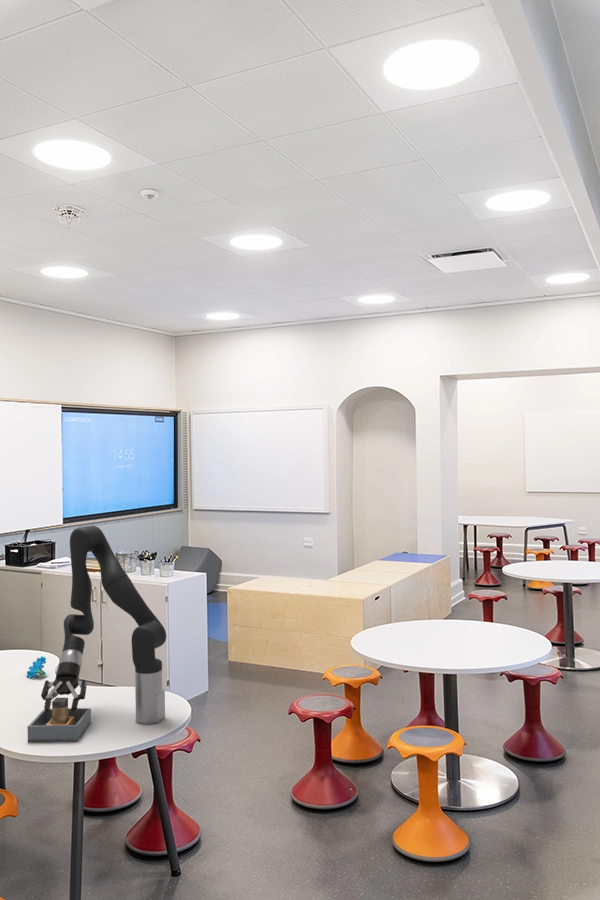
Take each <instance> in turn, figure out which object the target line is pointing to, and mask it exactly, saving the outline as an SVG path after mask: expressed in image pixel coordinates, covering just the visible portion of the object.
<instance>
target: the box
mask: <svg viewBox="0 0 600 900" xmlns="http://www.w3.org/2000/svg"><path fill="white" fill-rule="evenodd" d="M91 724H92V708H91V707H88V708H87V707H86V708H85V707H83V708H78V707H77V709H76V710H75V711H74V712H72V710H71V707H70V708H69V707H68V722H67V723H66V724H52V708H50V710H49V712H46V710H45V709H44V708H43V710H42V711H40V713H39V714H38V715H37V716H36V717H35V718H34V719H33V720H32V721H31V722H30V723H29V724H28V725H27V743H48V742H49V743H53V742H54V743H55V742H56V743H58V742H60V743H61V742H62V743H63V742H68V743H69V742H70V743H71V742H79V740H80V738H81V737H82V736H83V734H85V732H86V731H87V729H88V728H89V726H90V725H91Z"/></svg>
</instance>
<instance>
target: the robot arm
mask: <svg viewBox="0 0 600 900" xmlns="http://www.w3.org/2000/svg"><path fill="white" fill-rule="evenodd" d="M69 552H70V563H71V581H72V582H71V594H70V608H72V609H74V610H76V611H79V612H81V613H82V614H77V613H75V614H74V613H72V614H68V615H66V617H65V618H64V620H63V631H64V643H63V648H62V651H61V655H60V659H59V662H58V666H57V671H56V675H55V679H54V681H49V680H48V679H46V680H45V681H44V685H43V688H42V691H41V694H40V697H41V698H42V699H41V700H43V701H44V702H45V703H44V707H43V710H44V709H45V710H46V712H49V710H50V709H51V707H52V701H53V700H54V699H55V698H57V697H58V695H60V696H63V695H67V696H68V695H72V697H73V698H72V703H71V707H70V708H71V710H72V712H74V711H75V710H76V709H77V708H78V705H79V702H80V700H85V698H86V695H87V694H86V693H87V685H88V683H87V680H86V679H82V680H81V681H79V678H80V673H81V669H82V668H81V667H82V663H83V655H84V649H85V645H86V644H85V643H86V642H85V640H84V639H83V638H82V637H80V636H79V635H81V636H88V635H91V633H92V632H93V630H94V628H95V625H94V624H95V621H94V617H93V613H92V604H91V603H92V592H93V585H92V580H91V577H90V574H89V572H88V568H87V567H88V566H87V557H88V553H90V552H91V554H92V555H93V556H94V558H95V559H96V561H97V563H98V565H99V568H100V569H99V570H100V579H101V580H100V581H101V586H102V587H103V589H104V591H105V593H106V594H107V595H108V597H109V599H110V600H111V602H112V603H113V604H115V606H116V607H118V608H119V609H120V610H122V611H124V612H125V613H127V614H128V615H129V616H130V617H132V618H133V620H134V621H135V623H136V624H137V627H135V628H134V630H133V631H132V633H131V656H132V663H133V666H134V671H135V672H134V675H135V677H134V684H135V686H134V688H135V690H134V693H135V698H134V699H135V721H136V722H137V724H138V723H139V724H144V725H149V724H150V725H151V724H159V723H160V722H161V721H162V720H164V718H166V691H165V690H164V689H163V661H162V660H161V659H160V658H156V649H158V648H160V647H162V646H163V645H164V644H166V643H165V642H166V640H167V633H166V629H165V626H164V625H163V624H162V623H161V621H160V620H159V618H157V616H156V615H155V614H154V612H153V611H152V610H151V609H150V608H149V606H148V605H147V603H146V602H145V600H144V599H143V597H142V596H141V594H140V593H139V591H138V590H137V587H135V585H134V583H133V582H132V580H131V579H130V577H129V576H128V575H129V574H127V572H126V571H125V570H124V568H123V567H122V565H121V563H120V562H119V560H118V558H117V556H116V555H115V553H114V551H113V550H112V548H111V545H110V544H109V542H108V539H107V538H106V535H105V534H104V532H103V531H102V529H100V527H98V526H96V525H88V526H86V525H85V526H81V527H80V526H79V527H77V528H75V529H73V531H72V532H71V533H70V536H69ZM52 687H53V688H52ZM78 687H79V688H80V692H79V694H78V693H77V692H76V689H77V688H78ZM51 688H52V689H51ZM50 689H51V690H50ZM49 691H50V692H49Z"/></svg>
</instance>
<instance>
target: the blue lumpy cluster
mask: <svg viewBox="0 0 600 900" xmlns="http://www.w3.org/2000/svg"><path fill="white" fill-rule="evenodd" d="M31 664H32V665H30V666H29V667H28V669H29V670H27V671H26V677H27V678H29V679H32V678H34V677H36V676H37V675H39V676H42V677H43V678H44V679H45V678H47V677H48V676H47V675H46V672H45V670H43V669H44V668H45V664H47V658H46V657H45V656H40V658H39V657H38V658H36V661H34V660H33V661H32V662H31Z"/></svg>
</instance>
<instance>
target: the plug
mask: <svg viewBox="0 0 600 900" xmlns="http://www.w3.org/2000/svg"><path fill="white" fill-rule="evenodd" d="M51 709H52V724H66V723H67V722H68V709H69V697H54V698H53V699H52V700H51Z"/></svg>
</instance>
